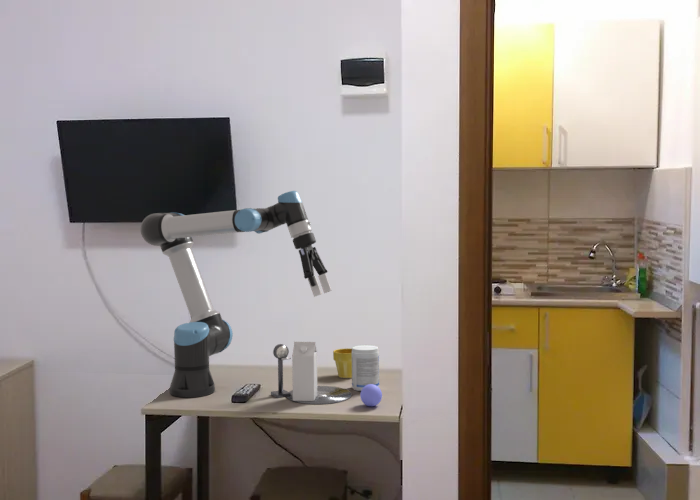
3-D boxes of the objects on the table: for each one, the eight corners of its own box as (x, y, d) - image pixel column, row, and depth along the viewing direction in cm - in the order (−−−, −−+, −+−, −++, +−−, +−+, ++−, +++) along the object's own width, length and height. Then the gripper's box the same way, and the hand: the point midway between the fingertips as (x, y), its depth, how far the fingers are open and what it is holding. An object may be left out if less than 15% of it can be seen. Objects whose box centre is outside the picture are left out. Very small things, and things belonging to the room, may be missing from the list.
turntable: (305, 407, 230) (305, 406, 230) (275, 392, 248) (275, 391, 248) (363, 398, 241) (363, 396, 241) (331, 384, 260) (331, 383, 260)
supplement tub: (384, 389, 253) (384, 347, 252) (364, 393, 247) (364, 351, 246) (366, 384, 260) (366, 343, 259) (346, 388, 254) (346, 347, 253)
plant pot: (335, 372, 277) (335, 347, 277) (362, 373, 276) (361, 348, 276) (331, 379, 267) (331, 353, 266) (359, 380, 266) (359, 353, 265)
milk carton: (296, 395, 243) (296, 339, 242) (317, 395, 242) (317, 339, 241) (292, 401, 236) (292, 343, 235) (314, 401, 235) (313, 344, 234)
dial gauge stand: (278, 398, 241) (277, 346, 240) (270, 394, 246) (270, 343, 245) (291, 396, 244) (291, 344, 243) (284, 392, 249) (283, 342, 247)
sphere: (376, 410, 227) (376, 388, 227) (356, 407, 230) (356, 385, 230) (385, 404, 234) (385, 383, 233) (365, 401, 237) (365, 380, 236)
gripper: (302, 231, 235) (324, 293, 233) (321, 231, 259) (341, 287, 258) (281, 239, 236) (303, 300, 235) (302, 238, 260) (322, 294, 259)
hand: (323, 293), depth 246 cm, fingers open, 13 cm apart
